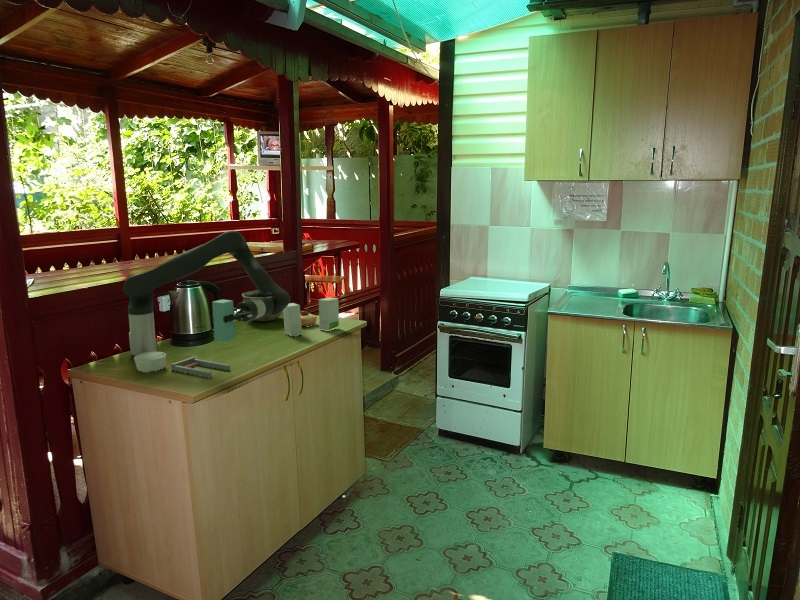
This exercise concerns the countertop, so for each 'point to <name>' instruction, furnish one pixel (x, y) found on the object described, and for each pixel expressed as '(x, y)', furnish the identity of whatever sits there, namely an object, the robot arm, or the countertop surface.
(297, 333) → the skincare box
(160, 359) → the ramekin
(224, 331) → the teal block
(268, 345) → the countertop surface
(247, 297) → the ceramic bowl
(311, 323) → the pastry
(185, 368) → the grey rectangular frame
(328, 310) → the skincare box
